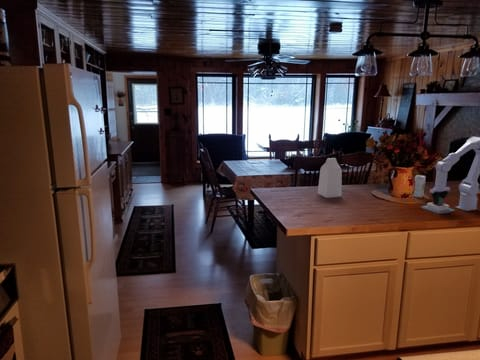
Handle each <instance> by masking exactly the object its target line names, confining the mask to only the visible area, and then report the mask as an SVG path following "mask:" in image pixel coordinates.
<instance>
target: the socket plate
mask: <svg viewBox="0 0 480 360" xmlns="http://www.w3.org/2000/svg"><path fill="white" fill-rule="evenodd" d="M420 208H421V209H422V210H425V211H429V212H431V213H432V212H433V213H434V214H438V215H441V214H447V213H453V212H455V211H456V210H455V209H453V208H450V205H449V204H446V203H443V206H437V205H434V204H433V201H432V202H427V203H426V205H422V206H420Z"/></svg>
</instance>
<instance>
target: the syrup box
mask: <svg viewBox="0 0 480 360" xmlns="http://www.w3.org/2000/svg"><path fill="white" fill-rule="evenodd" d="M414 181H415V189H414V193H413V192H412V197H413V196H414V198H419V197H420V199H421V198H423V197H424V193H425V186H426V185H425V184H426V175H422V174H421V175H420V174H417V175H415V176H414Z"/></svg>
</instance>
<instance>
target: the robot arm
mask: <svg viewBox="0 0 480 360" xmlns="http://www.w3.org/2000/svg"><path fill="white" fill-rule="evenodd" d="M470 150H474V152H475V156H474V158H473V161H472V164H471V167H470V169H469V171H468V174H467V176H466V177H465V178H464V179H462V181H461V183H459V185H458V191H459V193H460V194H459V202H458V206H455V208H456V209H460V210H463V211H466V212H467V211H468V212H470V211H475V210H478V208H477V206H478V196H477V194H478V193H479V187H480V184H479V182H478V179H479V178H480V177H479V176H480V136H470V137H469V138H468V139H466V142H465V143H464V144H463V145H462V146H461V147H460V148H458V149H457V151H456V152H451V153H449V154H448V156H446V157H445V158H443V159H442V160H440V161H437V163H436V164H435V165H434V168H435V170H436V173H435V174H436V175H435V182H434V187H433V188H431V189H429V193H430V194H431V196H432V200H433V201H434V204H438V200H439V197H441V198H444V200H445V199H446V197H447V195H449V192H450V191H451V188H450V187H449V186H447V179H448V172H449V171H451V168H452V167H453V166H454V165H455V164H456V163H457V162H458V161H460V157H462V156H463V155H465V154H466V153H468V152H469V151H470ZM433 201H432V202H433Z"/></svg>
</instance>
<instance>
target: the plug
mask: <svg viewBox="0 0 480 360" xmlns="http://www.w3.org/2000/svg"><path fill="white" fill-rule="evenodd" d="M432 202H433V204H434V201H432ZM444 202H445V199H444V198H441V197H439V200H438V204H434V205H437V206H443V204H444Z"/></svg>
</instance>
